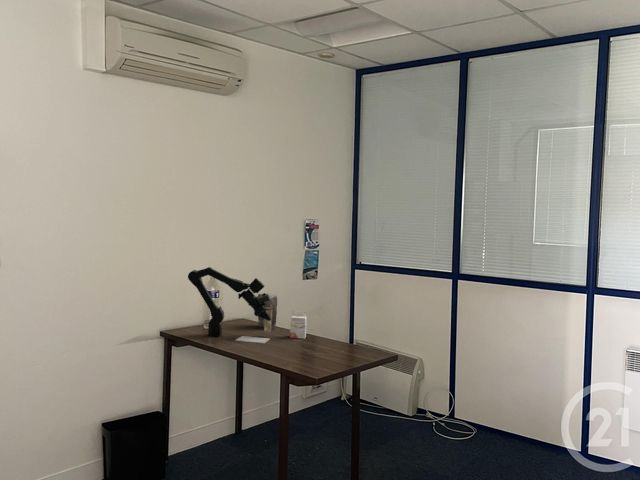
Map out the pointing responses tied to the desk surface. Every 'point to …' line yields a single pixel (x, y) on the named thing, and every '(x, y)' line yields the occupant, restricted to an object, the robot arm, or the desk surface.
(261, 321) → the stone block
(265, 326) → the birch block
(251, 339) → the grey board
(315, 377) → the desk surface
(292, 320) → the ink cartridge box
